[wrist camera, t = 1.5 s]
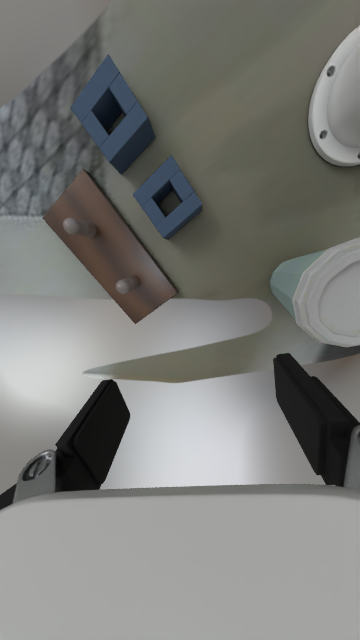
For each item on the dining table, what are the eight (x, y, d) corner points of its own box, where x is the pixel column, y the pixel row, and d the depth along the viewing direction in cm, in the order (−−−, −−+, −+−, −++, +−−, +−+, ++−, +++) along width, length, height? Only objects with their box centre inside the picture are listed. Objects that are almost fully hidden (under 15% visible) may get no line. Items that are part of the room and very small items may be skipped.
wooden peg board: (89, 172, 27) (54, 147, 20) (178, 291, 32) (173, 301, 25) (49, 219, 29) (7, 210, 23) (137, 321, 35) (124, 337, 28)
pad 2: (175, 168, 25) (171, 154, 22) (201, 210, 27) (202, 204, 23) (141, 202, 27) (132, 194, 24) (167, 239, 29) (163, 238, 25)
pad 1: (122, 85, 23) (108, 53, 19) (155, 137, 24) (147, 117, 21) (89, 129, 25) (70, 107, 21) (121, 174, 26) (109, 162, 23)
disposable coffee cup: (273, 320, 32) (331, 373, 18) (242, 270, 30) (283, 287, 16) (334, 285, 29) (460, 317, 15) (307, 227, 27) (428, 200, 13)
